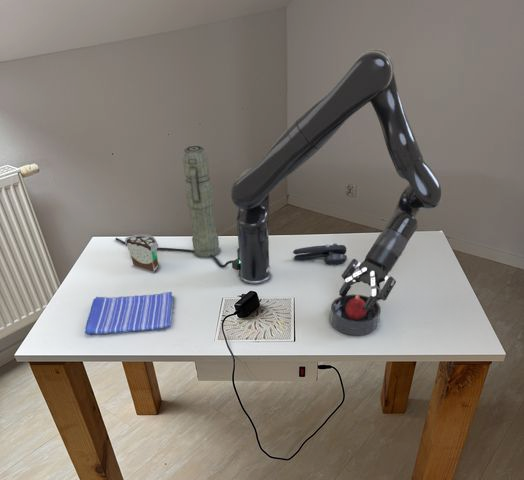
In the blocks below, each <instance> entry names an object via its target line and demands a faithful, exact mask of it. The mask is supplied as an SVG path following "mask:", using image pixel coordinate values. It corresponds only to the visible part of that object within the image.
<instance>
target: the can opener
mask: <svg viewBox="0 0 524 480" xmlns="http://www.w3.org/2000/svg"><path fill="white" fill-rule="evenodd" d="M346 252H347V246H345V244H337V243H333V244H325V245H314V246H313V245H312V246H306V247H300V248H296V249H294V250H293V251H292V253H293V255H294V256H293V259H294V260H295V261H309V260H315V259H324V260H325V263H326V264H328V265H333V266H334V265H341V264H344V263H346V262H347V260H348V259H347V258H348V256H347V255H346Z"/></svg>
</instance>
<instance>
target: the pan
mask: <svg viewBox="0 0 524 480" xmlns="http://www.w3.org/2000/svg"><path fill="white" fill-rule="evenodd" d="M357 295H359V296H360V298H361V299H362V300H364V302H365V303H366V301H367V300H368V298H369V297H370V296H367V295H363V294H346V296H345V297H344V298H343V297H341V296H338V297H337V298H335V299H334V300H333V301H332V302H331V305H330V317H329V322H330V324H331V326H332V327H333V328H334V329H335V330H336V331H338V332H339V333H342V334H345V335H348V336H349V335H350V336H364V335H368V334H370V333H371V334H372V332H374V331H376V330H377V329H378V327H379V325H380V320H381V314H382V313H381V312H382V310H381V305H380V304H379V302H378V301H377V302H375V304H374V305H373V307H372V309H370V310H368V311H367V313H366V315H365V316H364V317H363V318H362V319H360V320H357V321H354V320H351V319H350V318H349V317H348V316H347V314H346V312H345V308H346V304H347V303H348V302H349V301H350V300H351V299H353V298H355V297H356V296H357Z"/></svg>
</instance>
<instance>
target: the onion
mask: <svg viewBox="0 0 524 480" xmlns="http://www.w3.org/2000/svg"><path fill="white" fill-rule="evenodd" d="M356 295H357V296H356V297H355V298H353V299H351V300H350V301H349V302H348V303H347V304H346V308H345V312H346V314H347V316H348V317H349V318H350V319H351V320H354V321H357V320H360V319H362V318H363V317H364V316H365V315H366V313H367V311H366V310H364V309H363V306H364V304H365V302H364V300H362V299H361V298H360V296H359V295H360V294H356Z"/></svg>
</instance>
